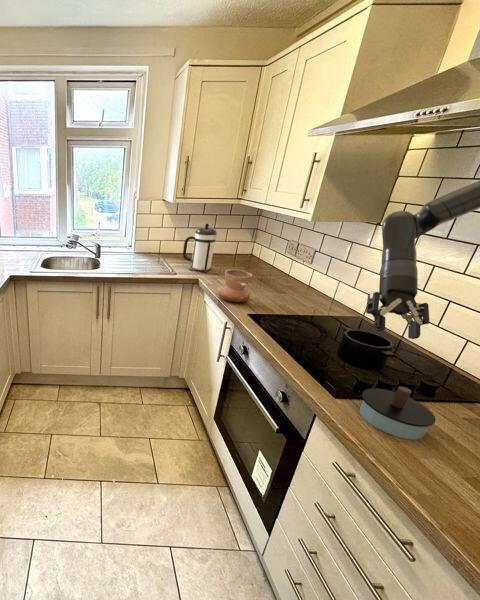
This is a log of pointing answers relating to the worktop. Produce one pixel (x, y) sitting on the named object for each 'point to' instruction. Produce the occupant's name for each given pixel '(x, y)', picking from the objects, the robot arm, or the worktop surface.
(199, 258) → the coffee press
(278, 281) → the worktop surface
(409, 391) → the lid
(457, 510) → the worktop surface
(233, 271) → the ceramic jug
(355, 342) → the pot
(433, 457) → the worktop surface
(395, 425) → the blue round dish
